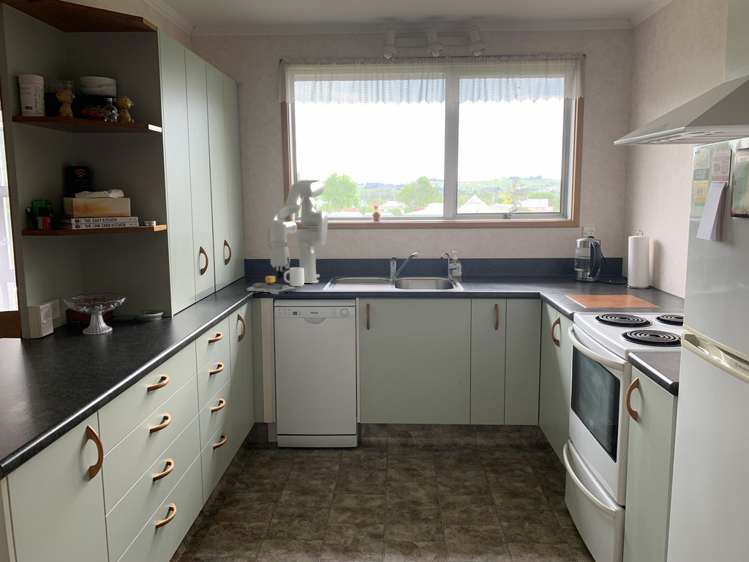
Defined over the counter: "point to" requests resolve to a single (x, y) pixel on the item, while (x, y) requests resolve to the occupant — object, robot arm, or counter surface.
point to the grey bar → (286, 291)
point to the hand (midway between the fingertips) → (281, 278)
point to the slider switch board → (269, 288)
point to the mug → (295, 276)
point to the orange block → (270, 280)
